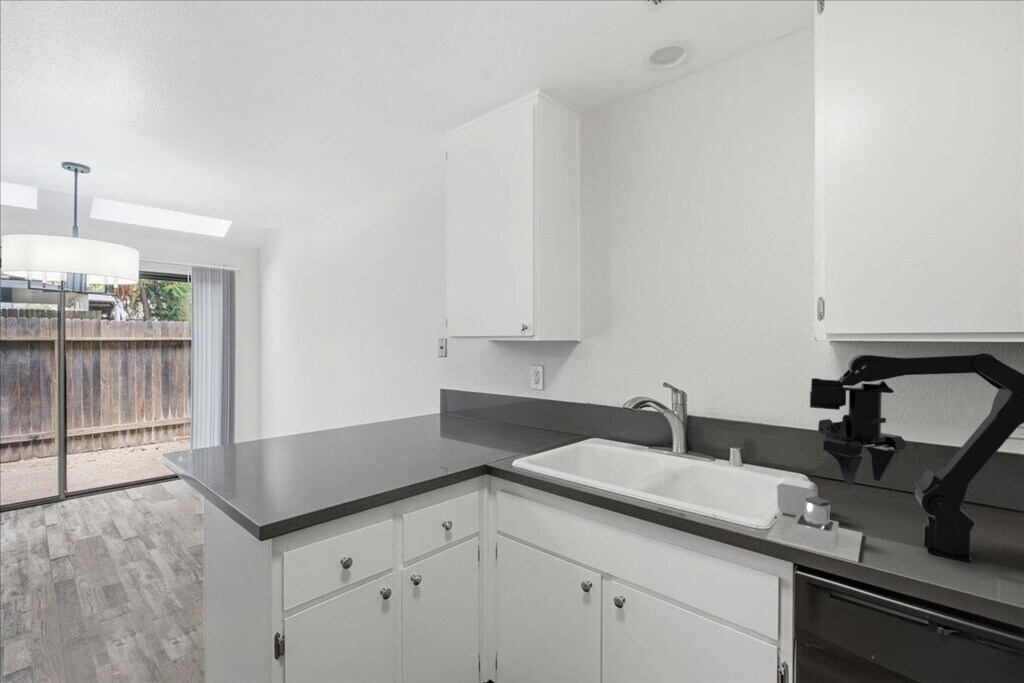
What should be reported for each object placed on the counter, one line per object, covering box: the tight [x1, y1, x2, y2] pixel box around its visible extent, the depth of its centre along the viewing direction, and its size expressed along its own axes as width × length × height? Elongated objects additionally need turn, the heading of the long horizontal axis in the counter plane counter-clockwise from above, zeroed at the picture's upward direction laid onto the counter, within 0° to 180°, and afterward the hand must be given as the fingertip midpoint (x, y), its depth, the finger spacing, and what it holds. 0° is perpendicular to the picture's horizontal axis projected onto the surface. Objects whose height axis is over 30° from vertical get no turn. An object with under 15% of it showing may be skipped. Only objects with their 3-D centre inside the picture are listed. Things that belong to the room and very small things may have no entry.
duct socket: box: [766, 513, 863, 563], centre depth 104 cm, size 16×16×3 cm
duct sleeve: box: [804, 496, 831, 531], centre depth 103 cm, size 5×5×8 cm
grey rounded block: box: [776, 476, 819, 517], centre depth 119 cm, size 8×10×10 cm
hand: (863, 482), depth 104 cm, fingers open, 9 cm apart
